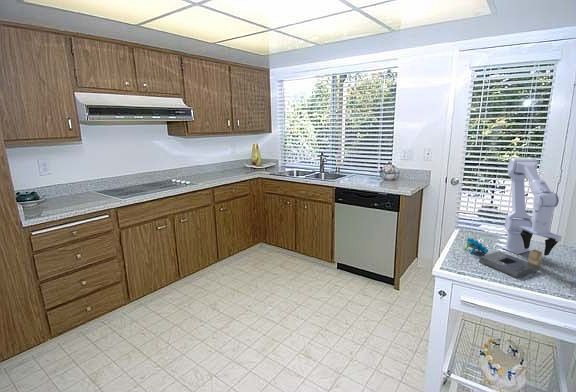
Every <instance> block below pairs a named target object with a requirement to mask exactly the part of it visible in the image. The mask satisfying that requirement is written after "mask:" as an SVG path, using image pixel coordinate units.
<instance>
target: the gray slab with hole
mask: <svg viewBox="0 0 576 392" xmlns="http://www.w3.org/2000/svg"><path fill="white" fill-rule="evenodd" d="M478 262H479V263H481V264H484V265H486V266H488V267H491V268H492V269H495V270H497V271H500V272H503V273H505V274H507V275H508V276H512V277H514V278H516V279H517V278H518V279H519V278H521V277H524V276H526V275H529V274H533V273H536V272H537V271H538V268H539V267H538V266H537V265H534V264H532V263H529V262H528V261H526V260H523V259H521V258H517V257H516V256H513V255H509V254H507V253H504V252H503V251H495V252H491V253H489V254H488V253H487V254H485V255H481V256H480V255H479V260H478Z"/></svg>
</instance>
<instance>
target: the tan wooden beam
mask: <svg viewBox="0 0 576 392" xmlns="http://www.w3.org/2000/svg"><path fill="white" fill-rule="evenodd" d="M543 253H544V252H543V250H540V249H537V248H534V249H530V251H529V254H528V258H527V262H529V263H532V264H534V265H537V266H538V267H537V268H539V267H540V266H541V261H542V257H543Z"/></svg>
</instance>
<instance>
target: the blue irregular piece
mask: <svg viewBox="0 0 576 392" xmlns="http://www.w3.org/2000/svg"><path fill="white" fill-rule="evenodd" d="M478 241H479V240H476V239H475V240H474V238H472V237H471V238H470V237H468V238H467V239H466V242H465V243H466V247H464V250H465V251H466V250H468V248H471V250H470V251H469V254H470V255H471V254H473V253H474V252H475V251H476V250H477V251H480V252H481V253H482V254H483V253H485V254H488V253H489V250H488V249H487V247H486V246H485V245H484V246H483V243H481V242H478Z"/></svg>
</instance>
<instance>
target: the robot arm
mask: <svg viewBox="0 0 576 392" xmlns="http://www.w3.org/2000/svg"><path fill="white" fill-rule="evenodd" d="M538 164H539V163H538V161H537V160H536V158H510V160H509V162H508V164H507V177H509V178H510V180H511V207H512V210H511V211H512V212H510V213H509V214H507V215H506V216H505V220H504V229H505V230H506V232H507V236H506V243H505V246H504V245H503V246H501V249H503V250H506V251H509V252H511V253H514V254H517V255H519V254H523V253H526V252H530V251H531V249H530V246H531V240H532V237H533V236H534V235H535V236H539V237H543V238H546V239H544V244H545V247H544V252H543V255H544V256H549V255H550V253H551V251H552V250H553V248H554V247H555V246H556V245H557V244H558V243H559V242H562V238H563V237H562V235H558V234H556V233H553V232H551V231H550V228H551V223H552V217H553V212H554V208H556V207H558V205H559V201H560V200H559V199H560V198H559V195H558V194H557V193H556V192H554V191H551V189H550V187H549V186H548V184H547V182H546V181H545V180H544V179H541V178H540V175H539V173H538V170H537V169H538V166H539V165H538ZM526 178H527V180H528V181H529V186H528V188H529V189H530V192H531V193H532V196H533V209H534V214H533V219H532V216H531V215H529V214H528V213H527V212H526V198H525V197H526V195H525V193H526V191H525V189H526V188H525V179H526Z"/></svg>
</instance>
